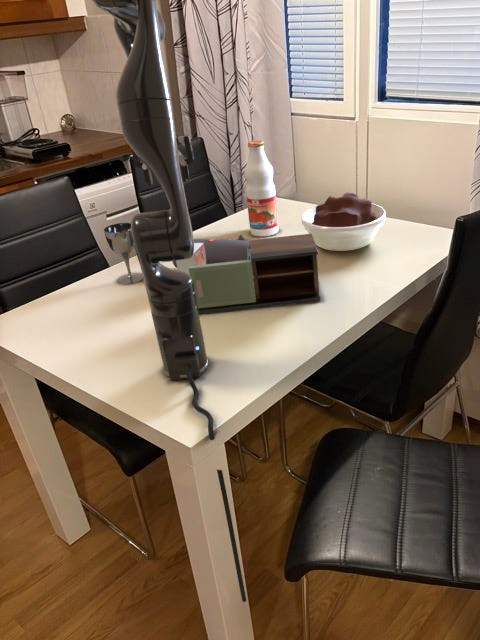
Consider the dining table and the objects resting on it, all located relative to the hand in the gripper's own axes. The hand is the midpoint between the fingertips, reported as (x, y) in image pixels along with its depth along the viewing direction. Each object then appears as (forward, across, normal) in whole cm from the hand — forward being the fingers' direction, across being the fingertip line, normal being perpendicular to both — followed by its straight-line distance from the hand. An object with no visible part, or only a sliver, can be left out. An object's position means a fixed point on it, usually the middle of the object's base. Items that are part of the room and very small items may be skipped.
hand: (168, 182), depth 144 cm
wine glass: (+28, -18, +11) cm, 35 cm away
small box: (+28, +2, +3) cm, 29 cm away
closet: (+28, +26, -7) cm, 39 cm away
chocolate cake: (+28, +45, +23) cm, 58 cm away
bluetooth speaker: (+23, +9, +17) cm, 30 cm away
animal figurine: (+25, +16, +29) cm, 42 cm away
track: (+28, +19, -14) cm, 37 cm away
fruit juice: (+28, +21, +41) cm, 54 cm away
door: (+27, +11, -14) cm, 33 cm away
